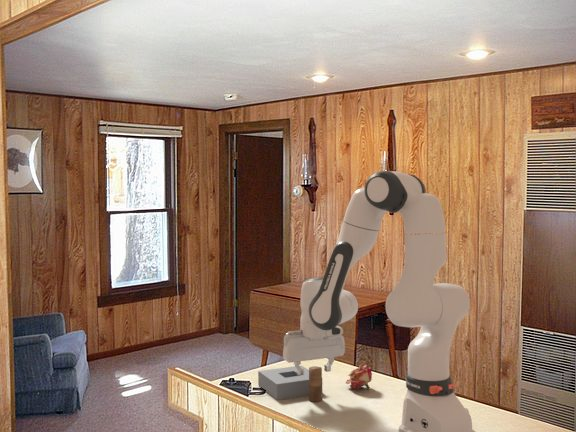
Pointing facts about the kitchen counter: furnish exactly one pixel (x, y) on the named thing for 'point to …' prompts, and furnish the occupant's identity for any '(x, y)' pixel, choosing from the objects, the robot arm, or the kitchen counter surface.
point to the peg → (315, 384)
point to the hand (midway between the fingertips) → (314, 372)
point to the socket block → (284, 382)
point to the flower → (360, 377)
